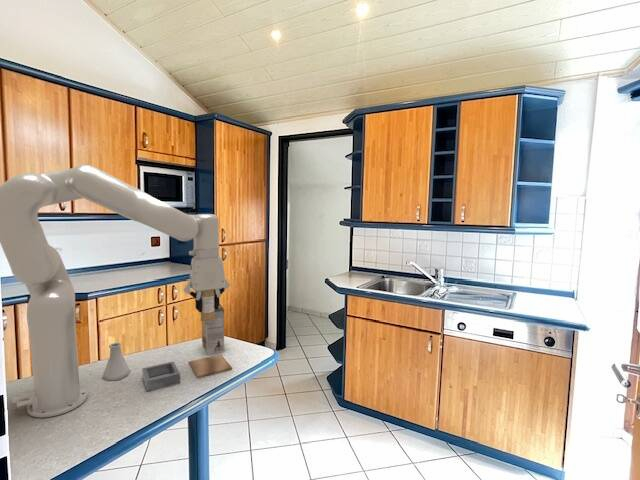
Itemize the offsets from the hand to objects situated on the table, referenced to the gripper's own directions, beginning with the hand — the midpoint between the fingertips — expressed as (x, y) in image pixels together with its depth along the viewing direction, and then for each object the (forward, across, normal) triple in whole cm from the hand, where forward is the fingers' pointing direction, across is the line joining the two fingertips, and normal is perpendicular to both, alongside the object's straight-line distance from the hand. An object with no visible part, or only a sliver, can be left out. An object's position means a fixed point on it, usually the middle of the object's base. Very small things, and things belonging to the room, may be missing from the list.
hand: (207, 309), depth 113 cm
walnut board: (+20, 0, 0) cm, 20 cm away
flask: (+20, -26, +9) cm, 34 cm away
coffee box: (+20, +5, +13) cm, 24 cm away
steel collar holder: (+20, -15, -1) cm, 24 cm away
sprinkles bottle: (+4, 0, 0) cm, 4 cm away
